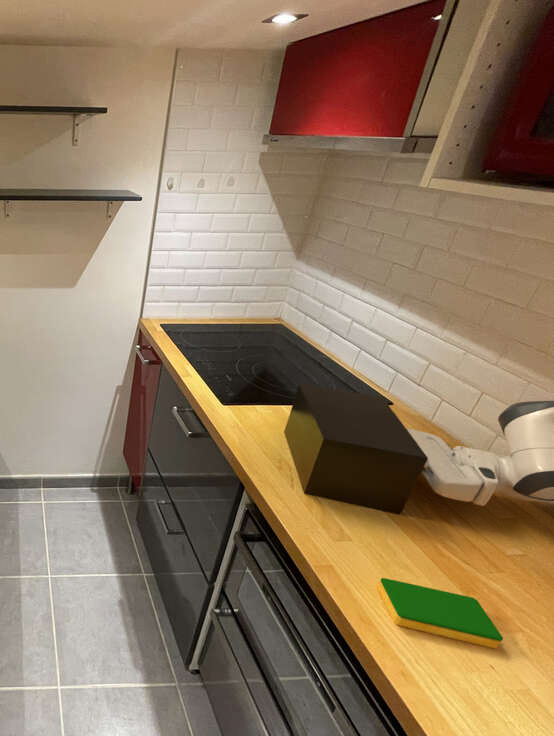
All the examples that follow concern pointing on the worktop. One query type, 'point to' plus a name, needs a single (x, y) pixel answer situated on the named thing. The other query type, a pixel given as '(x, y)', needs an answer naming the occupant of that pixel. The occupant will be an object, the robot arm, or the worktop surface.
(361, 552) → the worktop surface
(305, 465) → the black box
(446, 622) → the dish sponge
